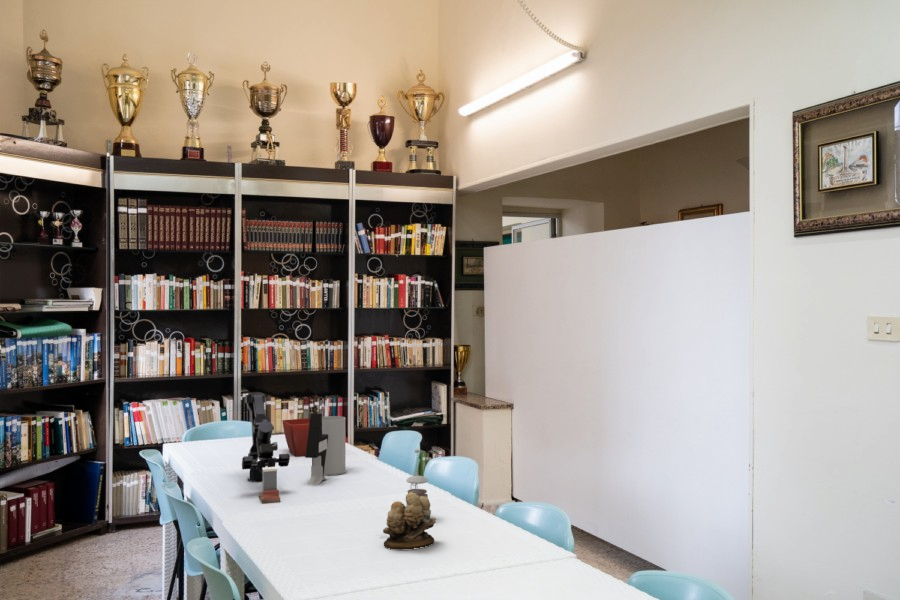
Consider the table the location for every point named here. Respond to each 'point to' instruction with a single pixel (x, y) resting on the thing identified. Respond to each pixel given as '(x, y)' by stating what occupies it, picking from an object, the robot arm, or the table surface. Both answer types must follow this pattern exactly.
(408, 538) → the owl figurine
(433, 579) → the table surface
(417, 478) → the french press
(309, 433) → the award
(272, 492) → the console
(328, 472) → the cylinder vase
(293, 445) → the plant pot
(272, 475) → the gray cream rectangular block
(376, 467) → the table surface
